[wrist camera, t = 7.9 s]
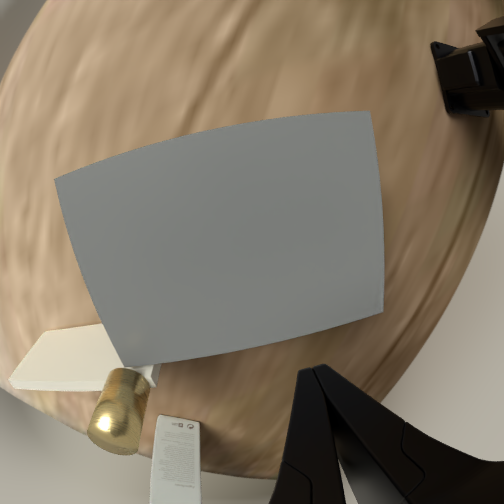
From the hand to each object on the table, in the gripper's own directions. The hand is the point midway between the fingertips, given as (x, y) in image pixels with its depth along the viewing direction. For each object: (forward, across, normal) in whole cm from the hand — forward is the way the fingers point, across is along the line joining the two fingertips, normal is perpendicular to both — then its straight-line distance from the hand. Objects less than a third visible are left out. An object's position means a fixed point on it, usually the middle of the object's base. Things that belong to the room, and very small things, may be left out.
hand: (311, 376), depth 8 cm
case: (+12, +2, -2) cm, 12 cm away
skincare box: (+11, +12, +18) cm, 24 cm away
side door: (+11, +13, +3) cm, 18 cm away
